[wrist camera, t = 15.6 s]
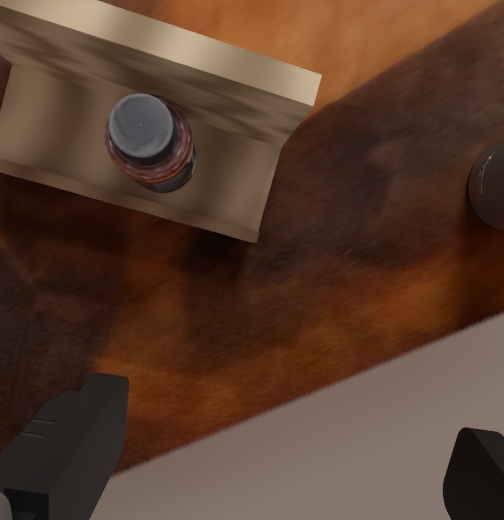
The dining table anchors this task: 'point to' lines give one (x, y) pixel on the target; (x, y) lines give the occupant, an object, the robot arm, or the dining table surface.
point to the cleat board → (144, 81)
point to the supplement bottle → (151, 142)
